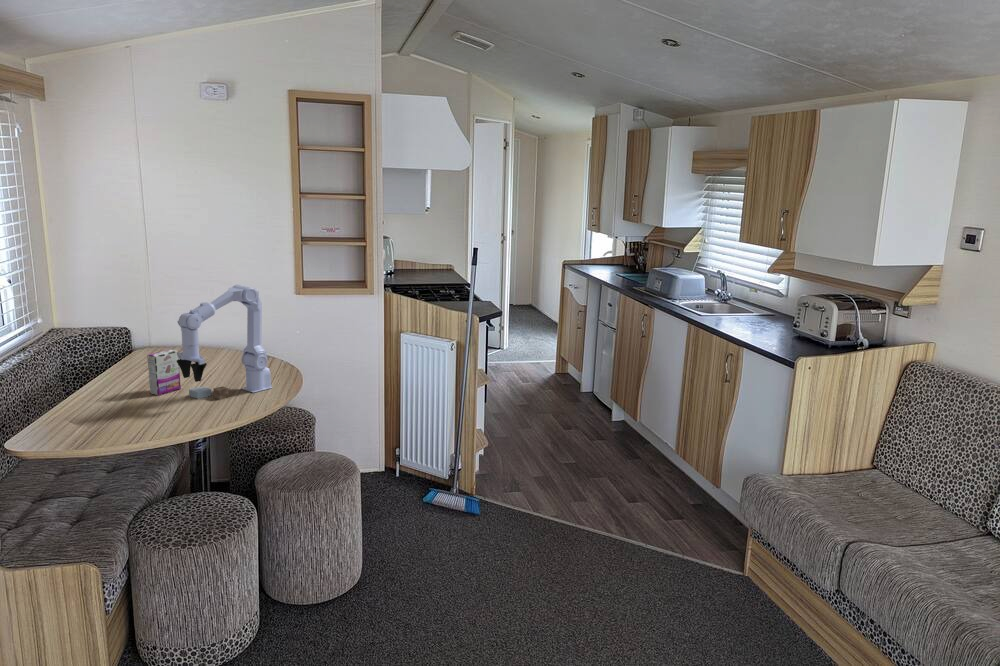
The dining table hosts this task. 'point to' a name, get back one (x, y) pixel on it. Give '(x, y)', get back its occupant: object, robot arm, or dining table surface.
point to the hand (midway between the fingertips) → (192, 379)
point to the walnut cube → (221, 393)
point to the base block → (200, 392)
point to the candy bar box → (163, 372)
